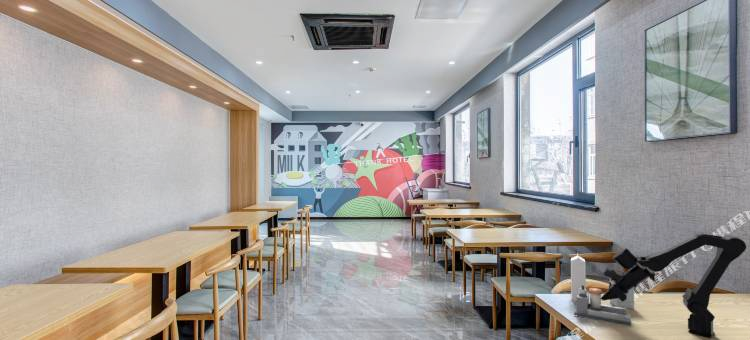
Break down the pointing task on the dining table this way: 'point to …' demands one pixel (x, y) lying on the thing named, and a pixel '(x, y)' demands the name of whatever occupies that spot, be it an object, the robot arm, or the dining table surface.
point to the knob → (595, 299)
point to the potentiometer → (582, 291)
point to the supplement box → (628, 302)
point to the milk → (577, 275)
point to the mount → (601, 312)
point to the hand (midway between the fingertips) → (601, 299)
